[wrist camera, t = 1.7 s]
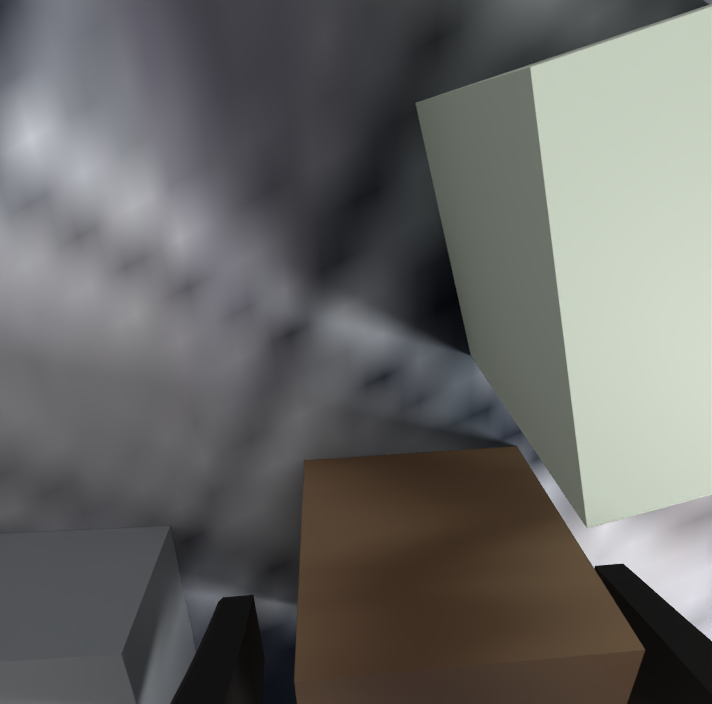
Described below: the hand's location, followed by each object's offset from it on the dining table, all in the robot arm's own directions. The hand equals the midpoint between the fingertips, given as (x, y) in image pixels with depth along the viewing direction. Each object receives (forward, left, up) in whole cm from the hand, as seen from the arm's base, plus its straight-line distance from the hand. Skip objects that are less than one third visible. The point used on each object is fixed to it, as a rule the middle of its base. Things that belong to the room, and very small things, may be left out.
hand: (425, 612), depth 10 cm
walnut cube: (0, 0, -2) cm, 2 cm away
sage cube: (-3, -8, -2) cm, 9 cm away
